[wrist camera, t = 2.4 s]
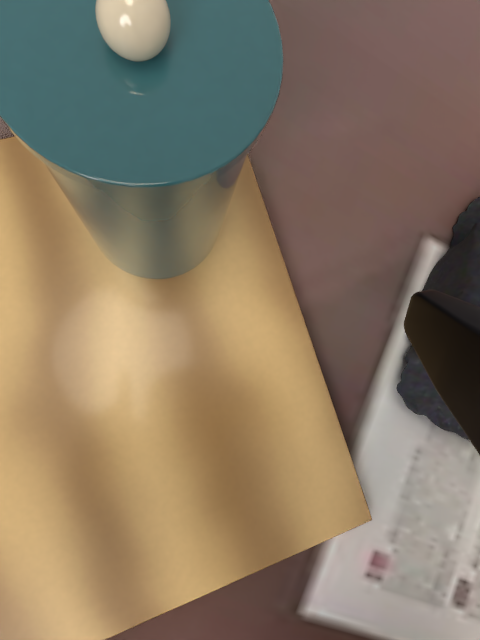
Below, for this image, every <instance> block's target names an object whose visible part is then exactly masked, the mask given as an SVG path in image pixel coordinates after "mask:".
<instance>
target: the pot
mask: <svg viewBox="0 0 480 640" xmlns="http://www.w3.org/2000/svg"><path fill="white" fill-rule="evenodd" d="M282 76H283V48H282V40H281V35H280V31H279V26H278V23H277V20H276V17H275V14H274V11H273V8H272V6H271V4H270V2H269V0H0V117H1V118H2V120H3V121H4V123H5V124H6V125H7V127H8V128H9V130H10V131H11V132H12V133H13V134H14V135H15V137H16V138H17V139H18V140H19V141H20V142H21V144H22V145H23V146H25V147H26V148H27V149H28V150H29V151H30V152H31V153H32V154H33V155H34V156H35V157H37V158H38V159H39V160H41V161H42V162H43V163H44V164H45V165H46V167H47V168H48V170H49V172H50V173H51V175H52V176H53V178H54V179H55V181H56V182H57V184H58V186H59V187H60V189H61V190H62V192H63V193H64V195H65V196H66V198H67V199H68V201H69V203H70V204H71V206H72V207H73V209H74V210H75V212H76V213H77V215H78V217H79V218H80V220H81V221H82V223H83V224H84V226H85V227H86V229H87V231H88V232H89V234H90V235H91V237H92V238H93V240H94V241H95V243H96V245H97V246H98V248H99V249H100V251H101V252H102V253H103V254H104V256H105V257H106V258H107V259H108V260H109V261H110V262H112V263H113V264H114V265H115V266H117V267H118V268H120V269H121V270H123V271H125V272H127V273H129V274H132V275H135V276H138V277H142V278H147V279H166V278H172V277H176V276H179V275H182V274H184V273H186V272H188V271H190V270H192V269H193V268H195V267H196V266H198V265H199V264H200V263H201V262H202V261H203V260H204V259H205V258H206V257H207V256H208V255H209V253H210V252H211V250H212V249H213V247H214V245H215V243H216V240H217V238H218V235H219V232H220V229H221V227H222V224H223V221H224V218H225V215H226V212H227V210H228V207H229V204H230V201H231V198H232V195H233V193H234V190H235V187H236V184H237V181H238V179H239V176H240V173H241V170H242V167H243V164H244V162H245V159H246V156H247V154H248V153H249V152H250V151H251V149H252V148H253V147H254V145H255V144H256V143H257V141H258V140H259V139H260V137H261V136H262V134H263V132H264V130H265V128H266V126H267V124H268V123H269V120H270V118H271V115H272V113H273V110H274V107H275V105H276V102H277V99H278V96H279V92H280V87H281V83H282Z"/></svg>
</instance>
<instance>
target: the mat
mask: <svg viewBox="0 0 480 640" xmlns="http://www.w3.org/2000/svg"><path fill="white" fill-rule="evenodd" d="M371 520H372V518H371V515H370V512H369V509H368V506H367V503H366V500H365V497H364V494H363V491H362V488H361V485H360V482H359V479H358V477H357V474H356V471H355V468H354V465H353V462H352V459H351V456H350V453H349V450H348V447H347V444H346V441H345V438H344V435H343V433H342V430H341V427H340V424H339V421H338V418H337V415H336V412H335V409H334V406H333V403H332V400H331V397H330V394H329V392H328V389H327V386H326V383H325V380H324V377H323V374H322V371H321V368H320V365H319V362H318V359H317V356H316V353H315V351H314V348H313V345H312V342H311V339H310V336H309V333H308V330H307V327H306V324H305V321H304V318H303V315H302V312H301V309H300V307H299V304H298V301H297V298H296V295H295V292H294V289H293V286H292V283H291V280H290V277H289V274H288V271H287V268H286V266H285V263H284V260H283V257H282V254H281V251H280V248H279V245H278V242H277V239H276V236H275V233H274V230H273V227H272V224H271V222H270V219H269V216H268V213H267V210H266V207H265V204H264V201H263V198H262V195H261V192H260V189H259V186H258V183H257V181H256V178H255V175H254V172H253V169H252V166H251V163H250V160H249V157H248V154H247V156H246V159H245V162H244V164H243V167H242V170H241V173H240V176H239V179H238V181H237V184H236V187H235V190H234V193H233V195H232V198H231V201H230V204H229V207H228V210H227V212H226V215H225V218H224V221H223V224H222V227H221V229H220V232H219V235H218V238H217V240H216V243H215V245H214V247H213V249H212V250H211V252H210V253H209V255H208V256H207V257H206V258H205V259H204V260H203V261H202V262H201V263H200V264H199V265H198V266H196V267H195V268H193V269H192V270H190V271H188V272H186V273H184V274H182V275H179V276H176V277H172V278H166V279H147V278H142V277H138V276H135V275H132V274H129V273H127V272H125V271H123V270H121V269H120V268H118V267H117V266H115V265H114V264H113V263H112V262H110V261H109V260H108V259H107V258H106V257H105V256H104V254H103V253H102V252H101V251H100V249H99V248H98V246H97V245H96V243H95V241H94V240H93V238H92V237H91V235H90V234H89V232H88V231H87V229H86V227H85V226H84V224H83V223H82V221H81V220H80V218H79V217H78V215H77V213H76V212H75V210H74V209H73V207H72V206H71V204H70V203H69V201H68V199H67V198H66V196H65V195H64V193H63V192H62V190H61V189H60V187H59V186H58V184H57V182H56V181H55V179H54V178H53V176H52V175H51V173H50V172H49V170H48V168H47V167H46V165H45V164H44V163H43V162H42V161H41V160H39V159H38V158H37V157H35V156H34V155H33V154H32V153H31V152H30V151H29V150H28V149H27V148H26V147H25V146H23V145H22V144H21V142H20V141H19V140H18V139H17V138H16V137H15V136H14V137H9V138H5V139H0V640H105V639H107V638H109V637H112V636H114V635H116V634H118V633H121V632H123V631H125V630H127V629H130V628H132V627H134V626H136V625H139V624H141V623H143V622H145V621H147V620H150V619H152V618H154V617H156V616H159V615H161V614H163V613H165V612H168V611H170V610H172V609H174V608H176V607H179V606H181V605H183V604H185V603H188V602H190V601H192V600H194V599H197V598H199V597H201V596H203V595H205V594H208V593H210V592H212V591H214V590H217V589H219V588H221V587H223V586H226V585H228V584H230V583H232V582H234V581H237V580H239V579H241V578H243V577H246V576H248V575H250V574H252V573H255V572H257V571H259V570H261V569H264V568H266V567H268V566H270V565H272V564H275V563H277V562H279V561H281V560H284V559H286V558H288V557H290V556H293V555H295V554H297V553H299V552H301V551H304V550H306V549H308V548H310V547H313V546H315V545H317V544H319V543H322V542H324V541H326V540H328V539H330V538H333V537H335V536H337V535H339V534H342V533H344V532H346V531H348V530H351V529H353V528H355V527H357V526H360V525H362V524H364V523H366V522H368V521H371Z"/></svg>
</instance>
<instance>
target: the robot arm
mask: <svg viewBox="0 0 480 640" xmlns="http://www.w3.org/2000/svg"><path fill="white" fill-rule="evenodd" d="M404 329H405V332H406V334H407V336H408V338H409V340H410V342H411V344H412V346H413V348H414V349H415V351H416V353H417V355H418V357H419V359H420V361H421V363H422V364H423V366H424V368H425V370H426V372H427V374H428V376H429V378H430V380H431V381H432V383H433V385H434V387H435V388H436V390H437V392H438V393H439V395H440V396H441V398H442V400H443V401H444V403H445V404H446V406H447V407H448V409H449V410H450V411H451V413H452V414H453V416H454V417H455V419H456V420H457V422H458V423H459V425H460V426H461V428H462V429H463V431H464V432H465V434H466V435H467V437H468V438H469V440H470V441H471V443H472V444H473V445H474V447H475V448H476V450H477V451H478V453H479V454H480V307H478V306H476V305H473V304H471V303H468V302H465V301H463V300H460V299H458V298H455V297H452V296H450V295H447V294H445V293H442V292H439V291H437V290H426V291H421V292H417V293H415V294H414V295H413V296H412V297H411V300H410V304H409V307H408V310H407V314H406V317H405V321H404Z"/></svg>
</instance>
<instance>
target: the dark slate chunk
mask: <svg viewBox="0 0 480 640" xmlns="http://www.w3.org/2000/svg"><path fill="white" fill-rule="evenodd" d="M453 232H454V236H453V239H452V242H451V245H450V248H449V250H448V251H447V253H446V254H445V255H444V256H443V257H442V258H441V260H440V261H439V262H438V263H437V264H436V266H435V267H434V269H433V271H432V272H431V274H430V276H429V278H428V280H427V283H426V285H425V287H424V289H423V291H426V290H437V291H439V292H442V293H445V294H447V295H450V296H452V297H455V298H458V299H460V300H463V301H465V302H468V303H471V304H473V305H476V306H478V307H480V197H478V198H477V199H475V200H474V201H473V202H472V203H471V204H470V205H469V206H468V209H467V211H465V212H463V213H461V214H460V216H459V219H458V222H457V224H456V225H454V226H453ZM404 359H405V361H406V362H407V365H406V367H405V368H404V370H403V372H402V374H401V382H400V383H398V385H397V391H398V393H399V394H400V395H401V396H402V398H403V400H404V402H405V404H406V406H407V407H408V408H409V409H410V410H412V411H413V412H414V413H416V414H419V415H425V416H427V417H428V418H429V419H430V420H431V421H432V422H433V423H434V424H435V425H437V426H438V427H440V428H442V429H444V430H446V431H450V432H454V433H456V434H458V435H460V436H461V437H463V438H467V439H469V438H468V437H467V435H466V434H465V432H464V431H463V429H462V428H461V426H460V425H459V423H458V422H457V420H456V419H455V417H454V416H453V414H452V413H451V411H450V410H449V409H448V407H447V406H446V404H445V403H444V401H443V400H442V398H441V396H440V395H439V393H438V392H437V390H436V388H435V387H434V385H433V383H432V381H431V380H430V378H429V376H428V374H427V372H426V370H425V368H424V366H423V364H422V363H421V361H420V359H419V357H418V355H417V353H416V351H415V349H414V348H413V346H411V348H410V349H409V351H408V352H407V353H406V355H405V357H404Z"/></svg>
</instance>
